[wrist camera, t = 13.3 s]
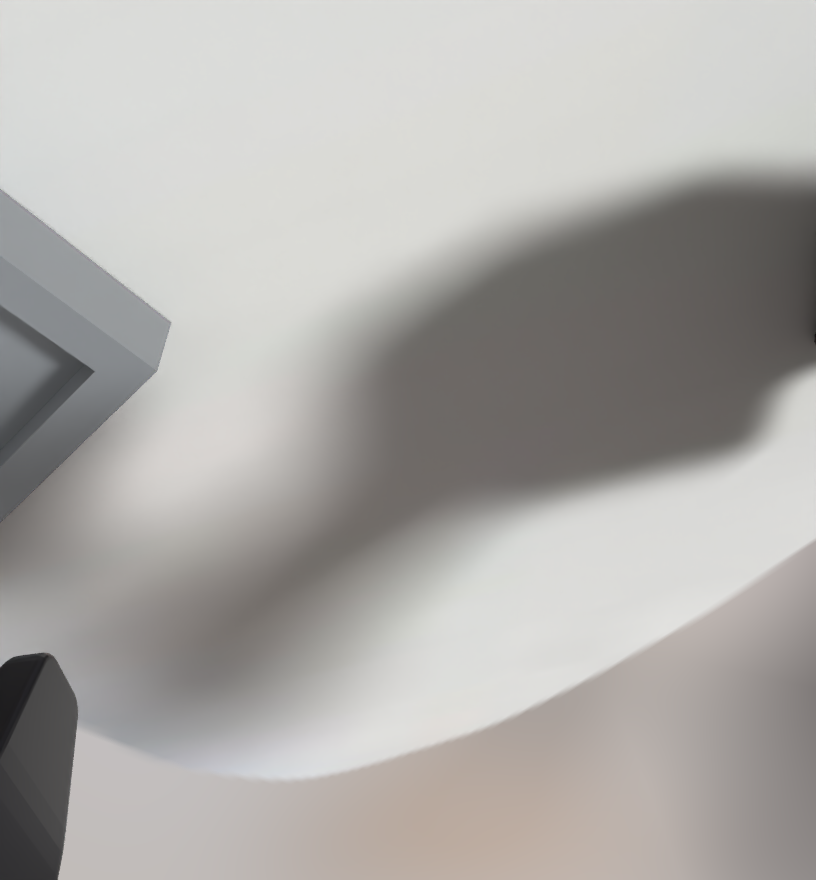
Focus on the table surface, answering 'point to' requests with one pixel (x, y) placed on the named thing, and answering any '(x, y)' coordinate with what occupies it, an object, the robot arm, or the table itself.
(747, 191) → the table surface
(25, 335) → the coaster tray
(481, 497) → the table surface
